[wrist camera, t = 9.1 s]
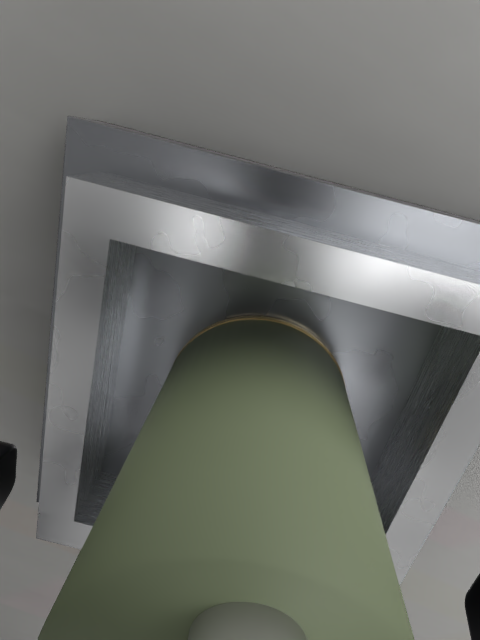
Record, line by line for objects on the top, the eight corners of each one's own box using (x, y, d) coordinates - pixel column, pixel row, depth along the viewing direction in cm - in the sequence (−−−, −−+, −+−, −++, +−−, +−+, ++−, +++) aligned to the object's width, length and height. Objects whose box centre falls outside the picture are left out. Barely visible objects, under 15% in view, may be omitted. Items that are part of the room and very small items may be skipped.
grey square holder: (371, 540, 16) (398, 654, 13) (64, 461, 16) (0, 553, 12) (524, 233, 12) (637, 270, 8) (101, 121, 12) (18, 107, 8)
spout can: (314, 491, 13) (376, 1109, 5) (153, 450, 13) (-78, 999, 5) (372, 347, 11) (654, 947, 3) (184, 298, 11) (-112, 757, 3)
